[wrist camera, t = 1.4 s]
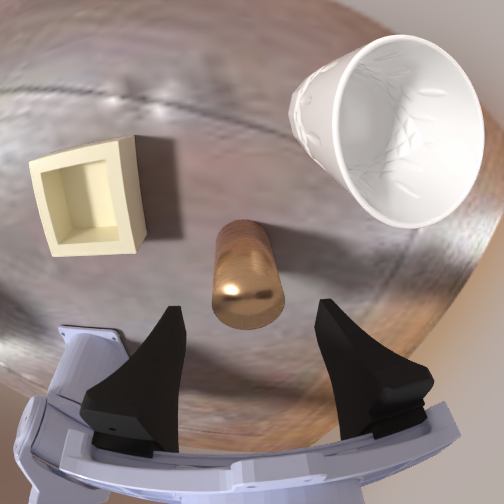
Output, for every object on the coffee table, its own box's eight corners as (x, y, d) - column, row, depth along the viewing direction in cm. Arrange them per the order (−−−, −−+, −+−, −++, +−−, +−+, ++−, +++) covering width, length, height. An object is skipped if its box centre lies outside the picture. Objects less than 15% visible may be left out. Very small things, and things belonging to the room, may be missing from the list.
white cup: (265, 72, 15) (307, 34, 6) (371, 60, 14) (472, 46, 6) (294, 180, 19) (349, 251, 10) (389, 159, 18) (482, 209, 10)
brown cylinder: (268, 265, 22) (282, 327, 16) (218, 267, 22) (215, 331, 16) (269, 218, 20) (287, 272, 14) (214, 220, 20) (208, 275, 14)
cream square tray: (147, 233, 20) (136, 253, 17) (69, 238, 19) (52, 256, 17) (134, 134, 16) (118, 140, 13) (50, 152, 16) (28, 162, 13)
